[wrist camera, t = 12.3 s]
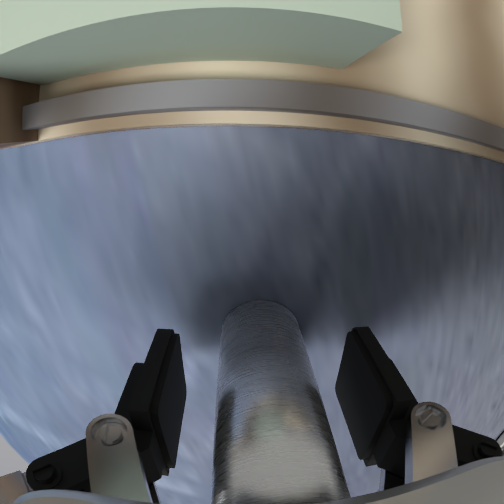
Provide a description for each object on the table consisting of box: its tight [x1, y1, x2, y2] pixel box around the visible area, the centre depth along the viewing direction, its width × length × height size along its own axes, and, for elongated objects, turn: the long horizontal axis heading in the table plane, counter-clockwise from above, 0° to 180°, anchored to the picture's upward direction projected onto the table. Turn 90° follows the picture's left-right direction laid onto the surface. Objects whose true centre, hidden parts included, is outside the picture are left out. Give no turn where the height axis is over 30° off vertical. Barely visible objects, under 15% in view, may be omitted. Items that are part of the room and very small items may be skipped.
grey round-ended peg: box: [211, 300, 350, 504], centre depth 8 cm, size 3×3×10 cm
